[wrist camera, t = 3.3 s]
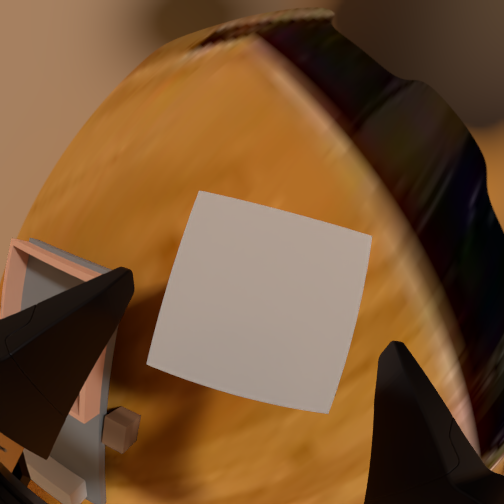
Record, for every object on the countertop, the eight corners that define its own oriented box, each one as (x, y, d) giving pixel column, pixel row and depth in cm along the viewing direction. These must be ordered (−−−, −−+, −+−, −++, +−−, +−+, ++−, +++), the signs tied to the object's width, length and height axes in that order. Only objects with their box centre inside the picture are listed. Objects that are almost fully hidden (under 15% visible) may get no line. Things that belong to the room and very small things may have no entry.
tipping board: (106, 502, 12) (88, 523, 9) (33, 452, 13) (12, 465, 9) (129, 276, 14) (94, 273, 11) (38, 239, 15) (4, 231, 11)
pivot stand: (136, 440, 14) (122, 453, 12) (21, 367, 15) (4, 369, 13) (140, 415, 15) (126, 427, 12) (23, 343, 16) (5, 344, 13)
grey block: (287, 356, 16) (328, 413, 6) (209, 335, 16) (146, 364, 6) (308, 279, 17) (372, 236, 7) (231, 259, 17) (199, 190, 7)
